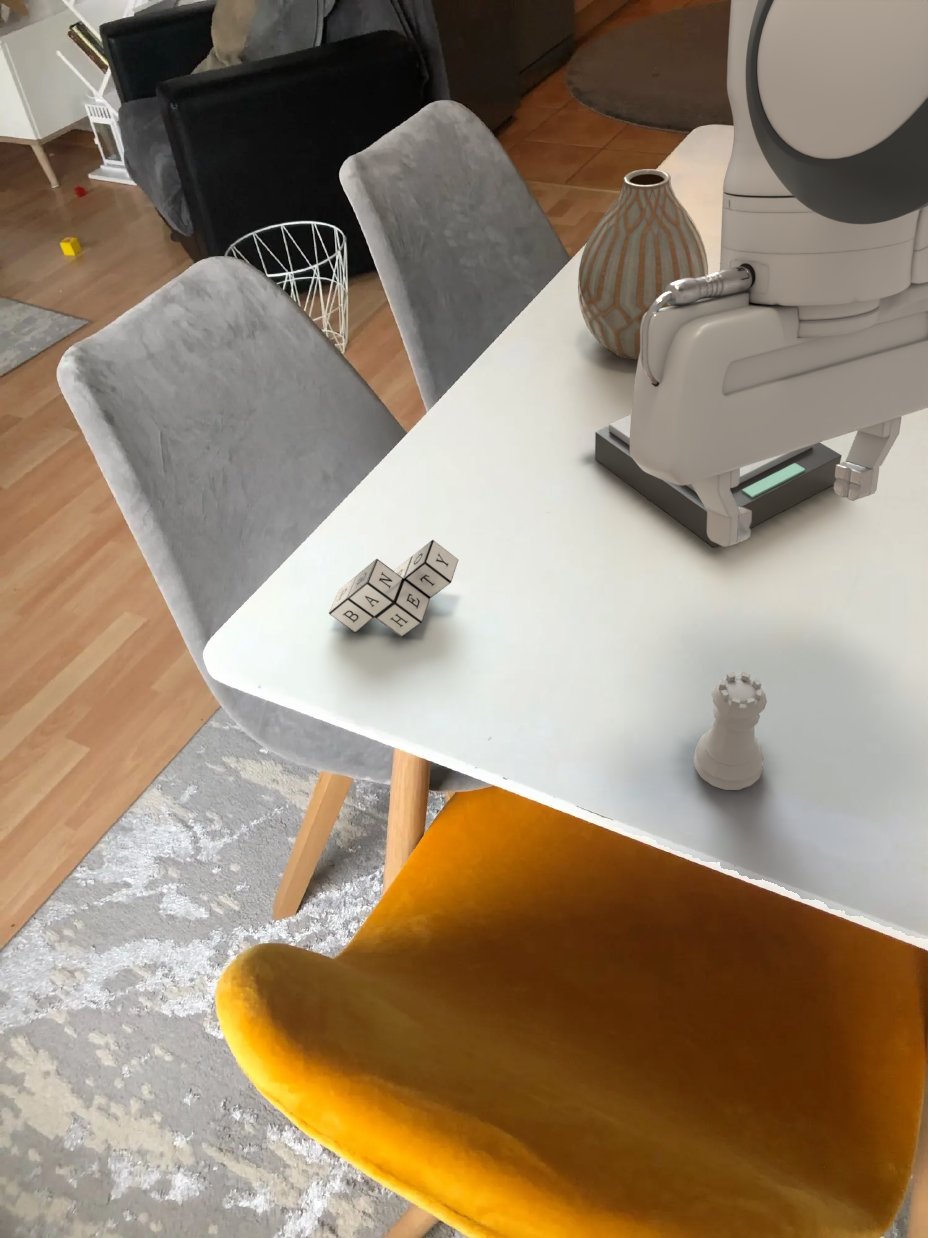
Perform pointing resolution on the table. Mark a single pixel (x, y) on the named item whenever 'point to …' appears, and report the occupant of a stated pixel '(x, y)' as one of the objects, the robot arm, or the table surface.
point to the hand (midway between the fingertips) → (793, 517)
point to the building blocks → (395, 591)
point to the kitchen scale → (758, 489)
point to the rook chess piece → (732, 735)
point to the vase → (636, 259)
